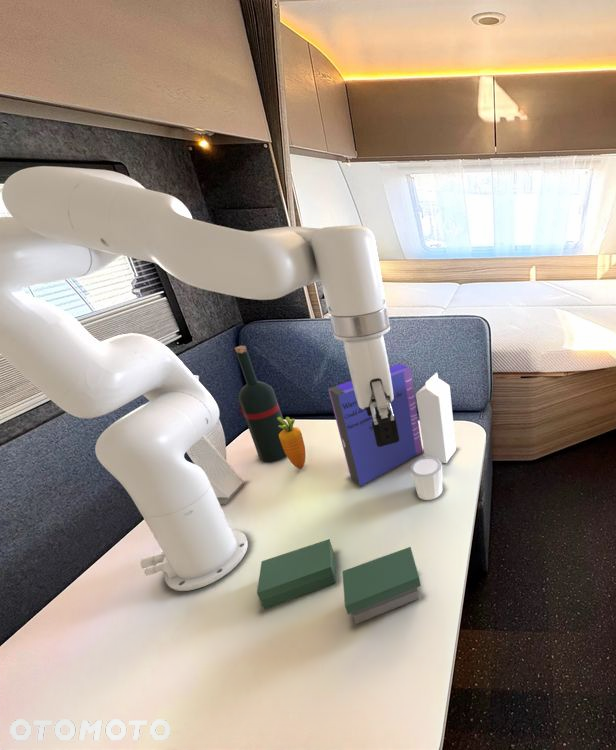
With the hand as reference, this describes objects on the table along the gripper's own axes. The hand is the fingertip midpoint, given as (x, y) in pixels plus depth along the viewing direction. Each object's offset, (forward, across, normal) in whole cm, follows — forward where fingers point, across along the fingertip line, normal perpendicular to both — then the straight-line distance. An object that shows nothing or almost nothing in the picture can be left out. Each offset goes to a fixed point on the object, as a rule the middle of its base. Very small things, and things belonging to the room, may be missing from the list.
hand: (382, 427), depth 60 cm
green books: (+27, -3, -18) cm, 33 cm away
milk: (+28, -26, +14) cm, 41 cm away
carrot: (+27, -37, -18) cm, 49 cm away
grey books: (+28, +8, -6) cm, 29 cm away
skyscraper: (+27, -36, -35) cm, 57 cm away
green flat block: (+23, +8, -5) cm, 25 cm away
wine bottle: (+27, -48, -25) cm, 61 cm away
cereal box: (+28, -28, +1) cm, 39 cm away
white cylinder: (+28, -14, +8) cm, 32 cm away
